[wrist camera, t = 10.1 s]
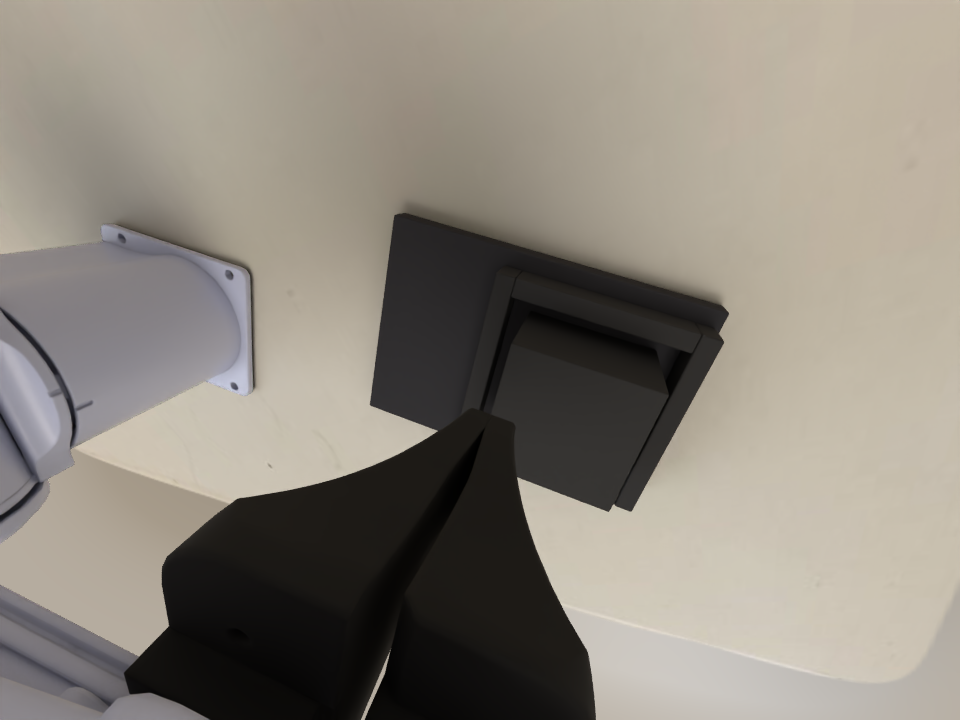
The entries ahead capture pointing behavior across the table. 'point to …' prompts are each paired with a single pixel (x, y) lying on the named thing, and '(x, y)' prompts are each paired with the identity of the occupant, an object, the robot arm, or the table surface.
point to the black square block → (578, 407)
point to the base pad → (499, 316)
